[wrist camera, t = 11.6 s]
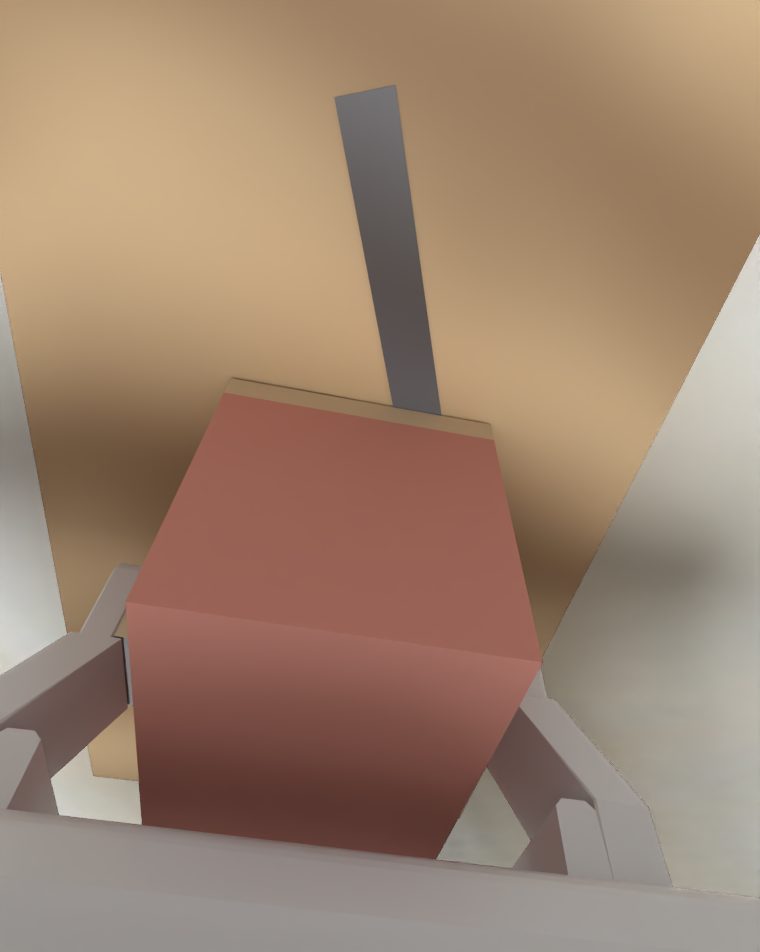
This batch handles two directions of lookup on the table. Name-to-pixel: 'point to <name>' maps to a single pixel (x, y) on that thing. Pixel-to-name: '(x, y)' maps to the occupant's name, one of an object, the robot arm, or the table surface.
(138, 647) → the block
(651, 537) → the table surface
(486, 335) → the plank
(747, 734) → the table surface
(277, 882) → the robot arm
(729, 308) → the table surface
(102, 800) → the table surface
